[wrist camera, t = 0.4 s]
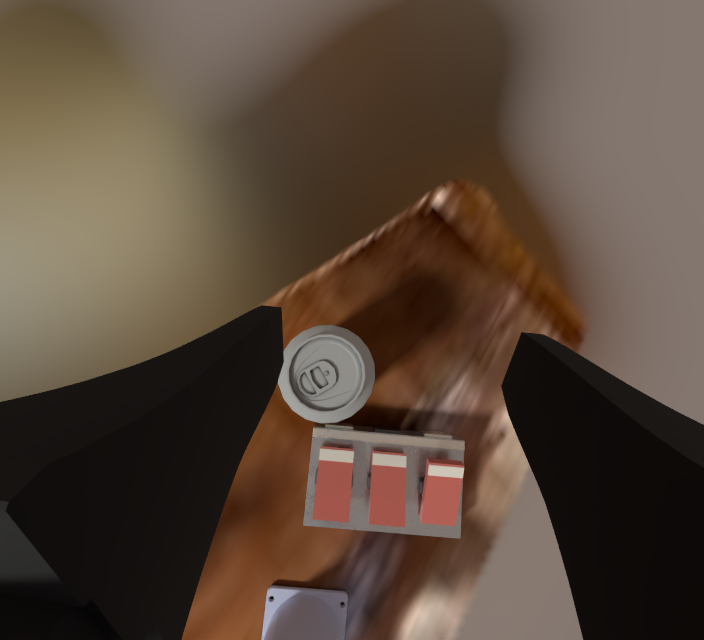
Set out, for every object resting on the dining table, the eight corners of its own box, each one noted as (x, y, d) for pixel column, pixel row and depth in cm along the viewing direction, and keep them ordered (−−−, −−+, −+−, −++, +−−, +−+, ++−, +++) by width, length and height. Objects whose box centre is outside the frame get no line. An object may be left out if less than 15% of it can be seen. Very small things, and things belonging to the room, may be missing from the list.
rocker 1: (348, 521, 29) (348, 522, 29) (312, 517, 29) (312, 519, 29) (353, 449, 32) (354, 449, 31) (320, 446, 32) (320, 446, 31)
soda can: (284, 358, 36) (256, 354, 24) (343, 324, 37) (344, 304, 25) (318, 419, 35) (305, 446, 23) (377, 383, 36) (395, 392, 24)
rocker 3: (452, 519, 31) (455, 526, 30) (419, 517, 31) (421, 523, 30) (461, 460, 30) (464, 466, 30) (427, 457, 30) (429, 462, 29)
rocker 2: (403, 525, 29) (405, 527, 29) (368, 522, 29) (369, 524, 29) (404, 453, 32) (406, 453, 31) (371, 451, 32) (373, 450, 31)
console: (450, 523, 34) (463, 543, 30) (306, 511, 34) (302, 529, 30) (454, 431, 35) (467, 439, 32) (316, 419, 35) (313, 425, 31)
